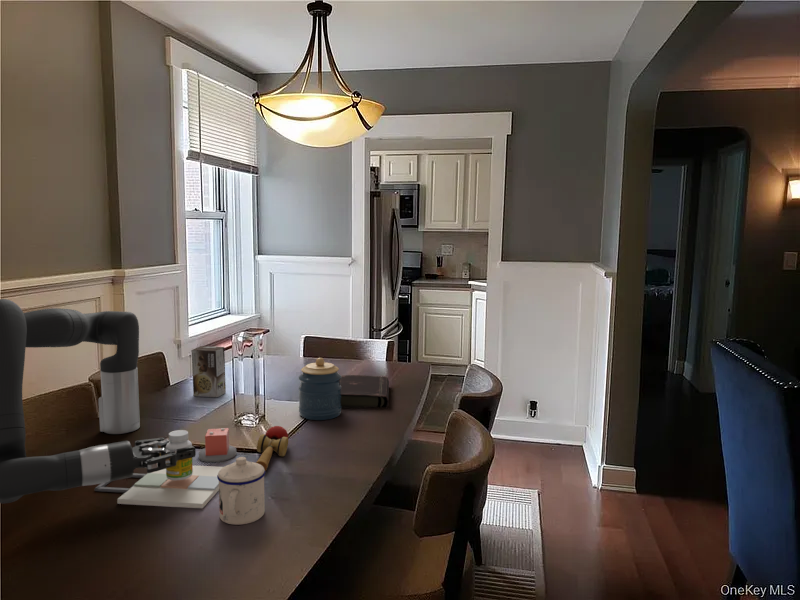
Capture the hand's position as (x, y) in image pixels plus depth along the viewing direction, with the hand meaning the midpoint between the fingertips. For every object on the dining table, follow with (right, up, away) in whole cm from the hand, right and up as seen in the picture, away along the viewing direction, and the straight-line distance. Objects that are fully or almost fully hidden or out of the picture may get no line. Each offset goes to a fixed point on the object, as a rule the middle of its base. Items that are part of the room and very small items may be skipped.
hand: (190, 446), depth 127 cm
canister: (+22, -3, +50) cm, 55 cm away
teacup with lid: (+15, -11, -14) cm, 23 cm away
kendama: (+14, -7, +16) cm, 23 cm away
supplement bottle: (-2, -6, -1) cm, 7 cm away
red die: (0, -6, +17) cm, 18 cm away
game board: (-6, -9, 0) cm, 10 cm away
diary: (+33, -1, +69) cm, 77 cm away
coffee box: (-19, 0, +70) cm, 72 cm away
